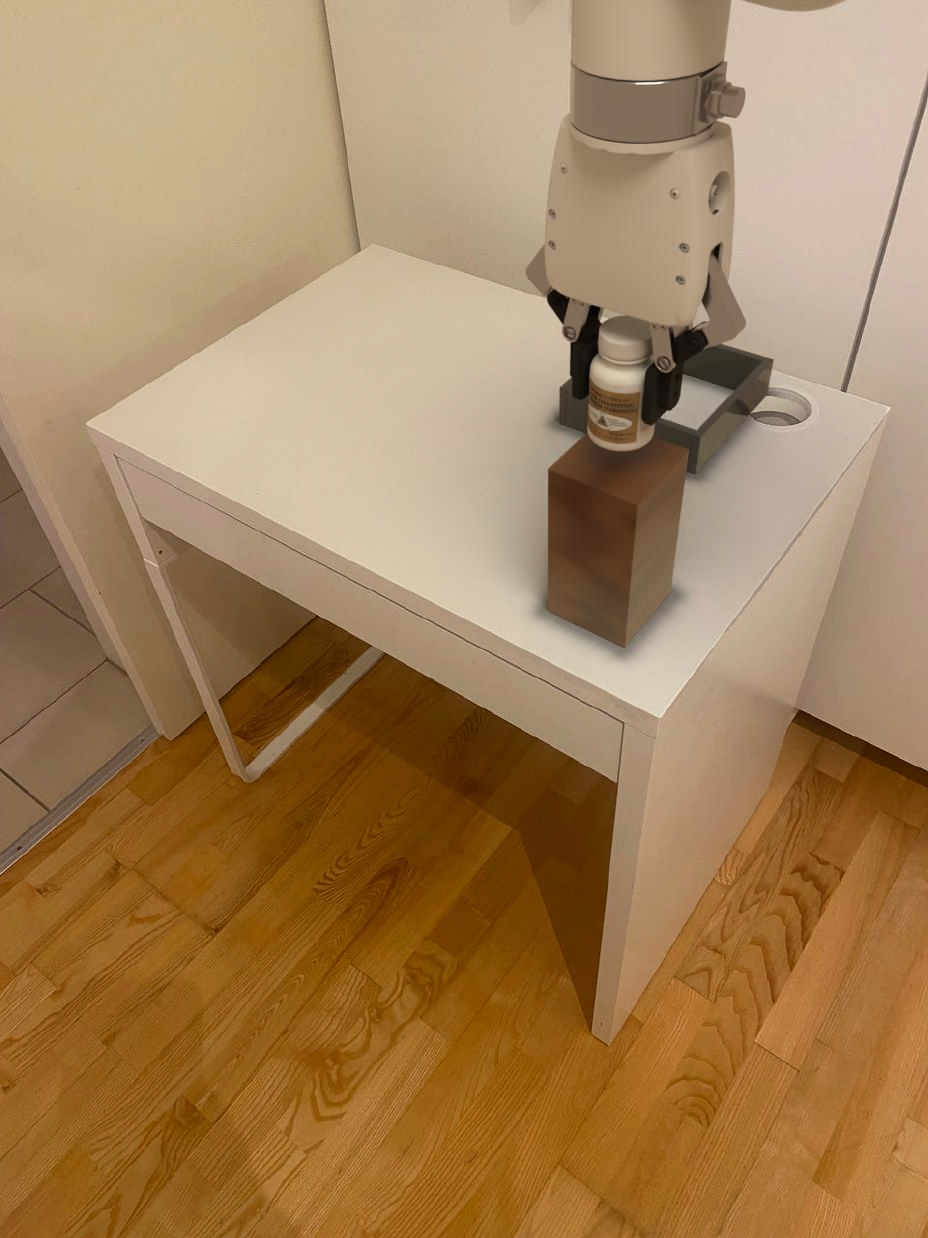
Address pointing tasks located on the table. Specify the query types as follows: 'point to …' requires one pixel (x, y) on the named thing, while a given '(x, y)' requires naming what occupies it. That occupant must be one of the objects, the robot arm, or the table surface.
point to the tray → (749, 390)
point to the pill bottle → (620, 384)
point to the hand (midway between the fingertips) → (622, 398)
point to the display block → (613, 534)
